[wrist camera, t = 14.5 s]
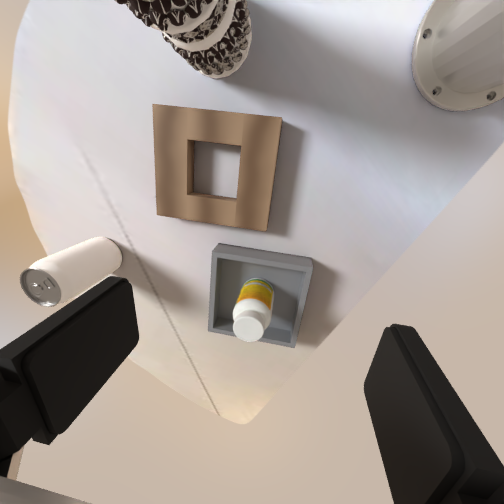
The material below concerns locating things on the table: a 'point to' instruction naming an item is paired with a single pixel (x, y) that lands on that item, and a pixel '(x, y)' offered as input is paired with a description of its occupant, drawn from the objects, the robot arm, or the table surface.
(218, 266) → the tray
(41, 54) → the table surface
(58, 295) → the can
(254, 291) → the supplement bottle
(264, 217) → the brown wooden square frame
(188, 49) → the decorative candle
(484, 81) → the robot arm
